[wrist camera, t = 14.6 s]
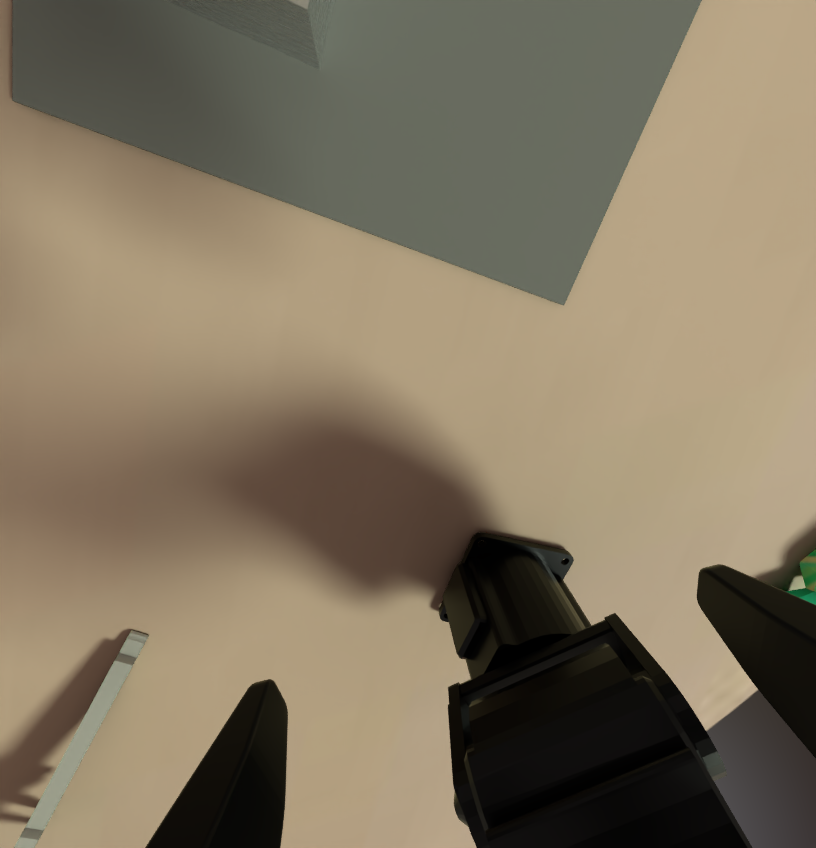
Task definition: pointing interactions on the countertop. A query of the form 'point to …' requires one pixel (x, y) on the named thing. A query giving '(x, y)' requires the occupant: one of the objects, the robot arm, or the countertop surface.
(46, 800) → the caliper
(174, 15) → the mat
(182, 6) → the square peg hole block
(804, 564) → the candy
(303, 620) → the countertop surface
